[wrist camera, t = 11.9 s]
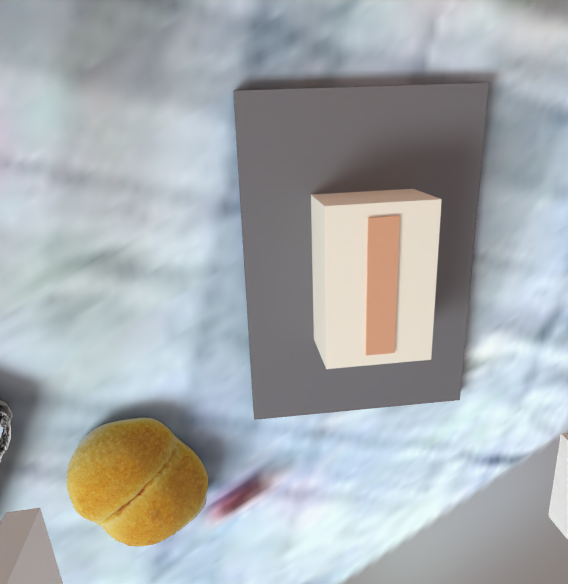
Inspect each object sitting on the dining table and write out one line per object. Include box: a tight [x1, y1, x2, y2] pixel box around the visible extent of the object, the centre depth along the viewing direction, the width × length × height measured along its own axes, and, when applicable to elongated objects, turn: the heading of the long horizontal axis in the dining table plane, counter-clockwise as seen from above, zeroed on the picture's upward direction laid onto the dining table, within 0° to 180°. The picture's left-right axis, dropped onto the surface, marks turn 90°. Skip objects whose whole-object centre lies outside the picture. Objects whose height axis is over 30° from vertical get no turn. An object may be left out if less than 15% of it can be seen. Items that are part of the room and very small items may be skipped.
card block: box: [311, 189, 442, 369], centre depth 28 cm, size 6×9×4 cm, turn 2°
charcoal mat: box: [233, 83, 489, 420], centre depth 31 cm, size 20×14×1 cm
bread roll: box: [67, 418, 208, 546], centre depth 32 cm, size 8×9×4 cm
